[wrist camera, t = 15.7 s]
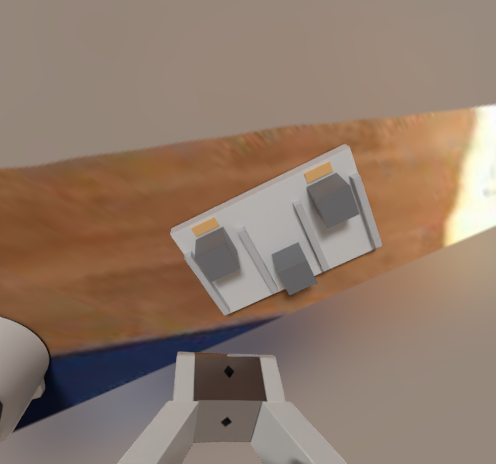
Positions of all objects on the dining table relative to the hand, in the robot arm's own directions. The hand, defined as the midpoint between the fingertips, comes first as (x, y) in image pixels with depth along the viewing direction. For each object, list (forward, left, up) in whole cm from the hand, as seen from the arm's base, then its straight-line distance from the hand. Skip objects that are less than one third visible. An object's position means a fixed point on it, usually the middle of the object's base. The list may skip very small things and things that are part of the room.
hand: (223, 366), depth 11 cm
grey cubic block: (+2, -17, -28) cm, 32 cm away
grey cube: (+9, -11, -28) cm, 31 cm away
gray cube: (-5, -11, -28) cm, 30 cm away
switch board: (+2, -14, -29) cm, 32 cm away
